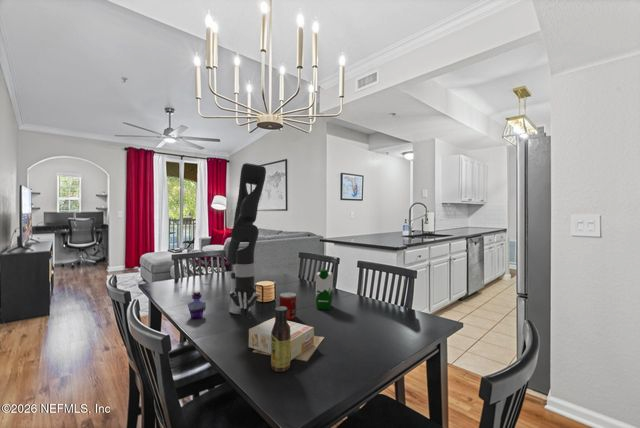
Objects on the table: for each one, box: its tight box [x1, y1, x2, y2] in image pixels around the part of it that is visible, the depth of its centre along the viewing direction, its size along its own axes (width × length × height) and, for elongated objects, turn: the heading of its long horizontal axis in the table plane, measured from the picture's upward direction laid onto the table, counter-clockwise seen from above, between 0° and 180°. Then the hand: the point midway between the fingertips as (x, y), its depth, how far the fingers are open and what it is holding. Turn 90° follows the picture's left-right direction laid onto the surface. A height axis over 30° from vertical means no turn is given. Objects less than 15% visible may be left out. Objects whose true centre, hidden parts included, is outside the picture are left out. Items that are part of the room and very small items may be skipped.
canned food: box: [279, 291, 297, 321], centre depth 147 cm, size 8×8×11 cm
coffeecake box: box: [248, 317, 315, 362], centre depth 115 cm, size 15×7×20 cm
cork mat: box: [252, 335, 325, 362], centre depth 117 cm, size 21×20×1 cm
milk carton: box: [315, 269, 334, 310], centre depth 162 cm, size 9×9×20 cm
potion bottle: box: [187, 291, 207, 320], centre depth 146 cm, size 9×9×12 cm
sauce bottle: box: [270, 305, 291, 373], centre depth 100 cm, size 6×6×20 cm
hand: (244, 316), depth 124 cm, fingers closed
